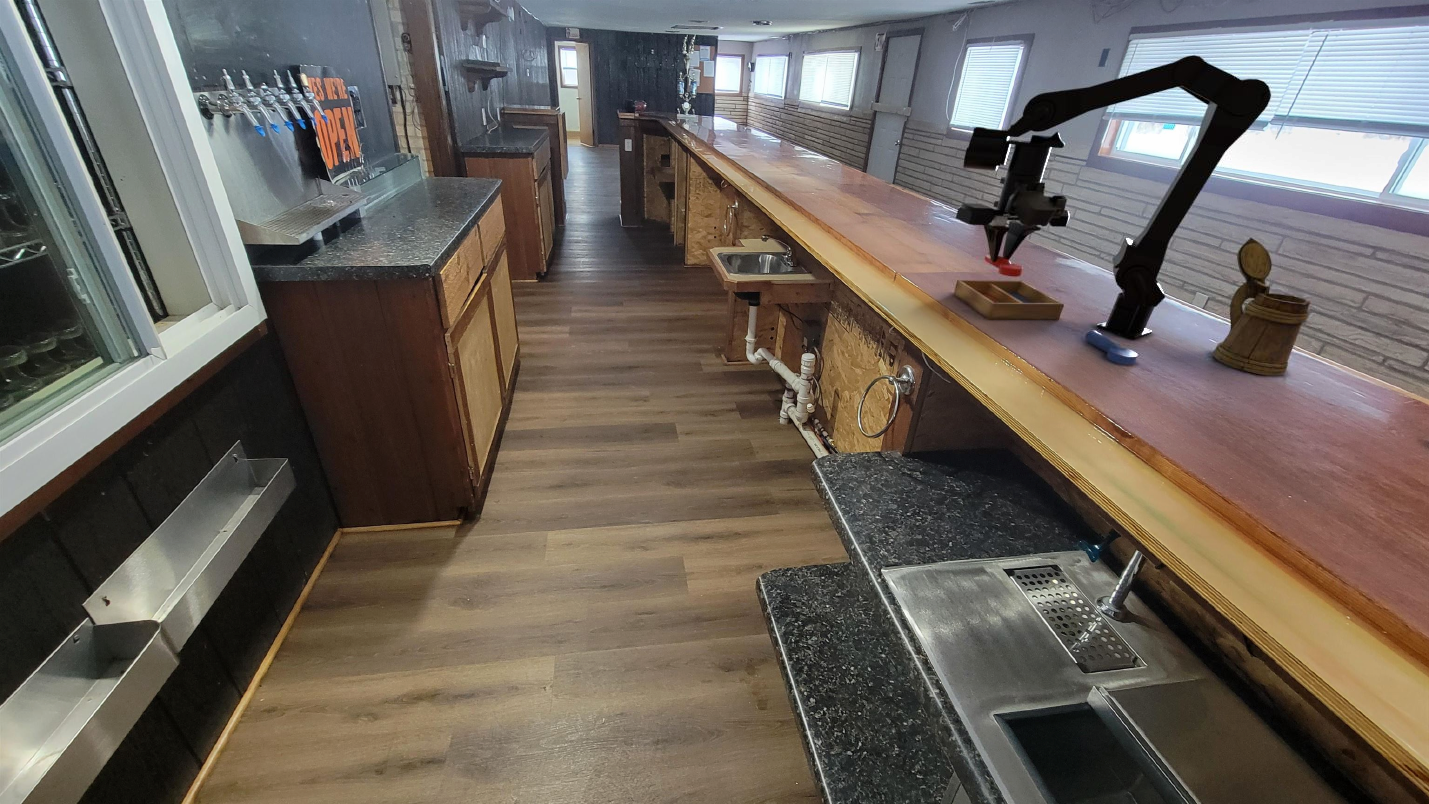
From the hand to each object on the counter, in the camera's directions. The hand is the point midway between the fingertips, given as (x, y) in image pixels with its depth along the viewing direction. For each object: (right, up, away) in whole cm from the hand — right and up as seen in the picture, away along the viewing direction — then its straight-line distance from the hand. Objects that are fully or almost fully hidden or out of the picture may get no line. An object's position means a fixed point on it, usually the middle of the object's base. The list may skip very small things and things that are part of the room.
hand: (998, 261), depth 107 cm
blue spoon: (+11, -18, -14) cm, 25 cm away
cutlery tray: (+3, -8, +4) cm, 9 cm away
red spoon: (0, -1, 0) cm, 1 cm away
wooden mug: (+32, -19, -14) cm, 40 cm away
